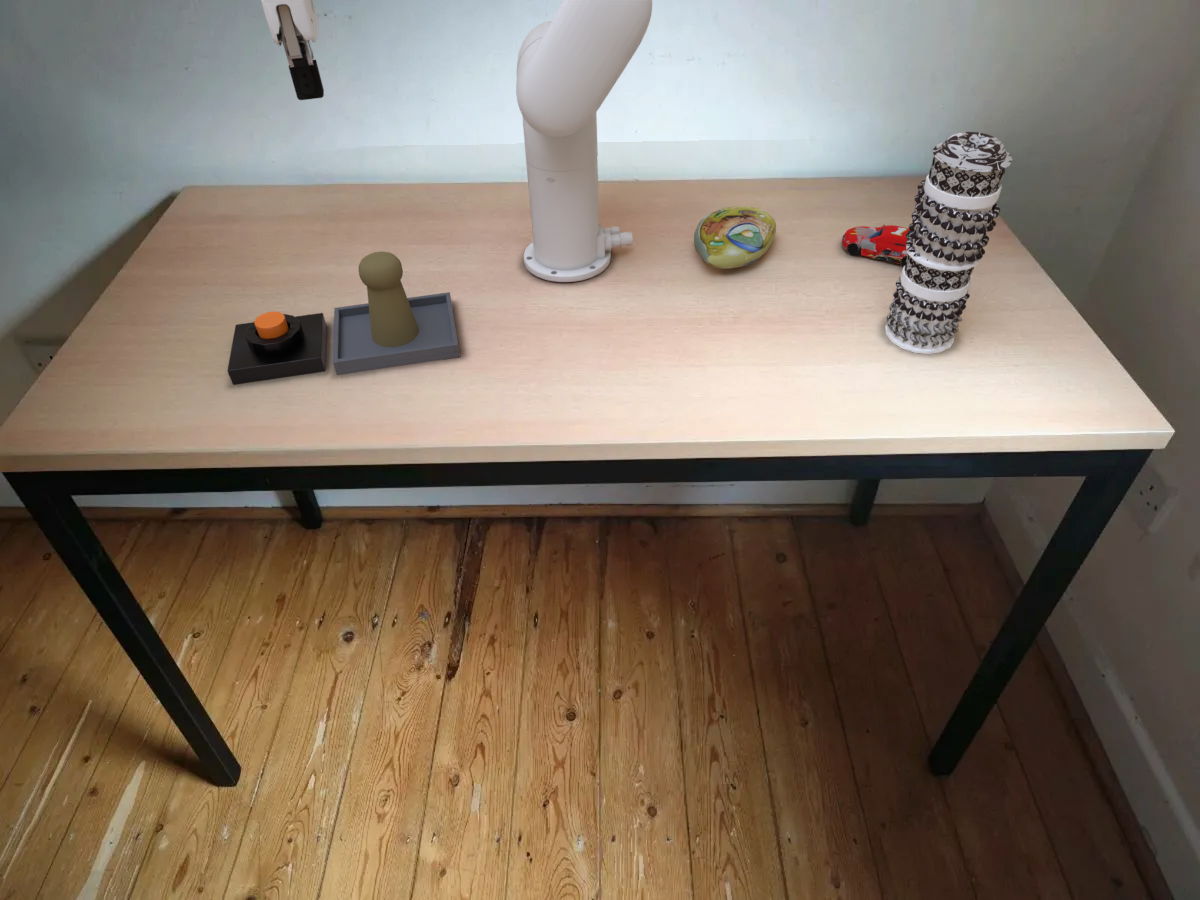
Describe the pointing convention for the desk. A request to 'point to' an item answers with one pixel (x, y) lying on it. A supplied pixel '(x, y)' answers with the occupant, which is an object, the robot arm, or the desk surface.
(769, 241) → the cell model
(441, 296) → the tray
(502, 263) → the desk surface
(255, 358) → the control block
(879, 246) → the race car
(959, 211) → the black white cylinder
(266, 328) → the button
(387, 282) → the olive rounded lobed piece
